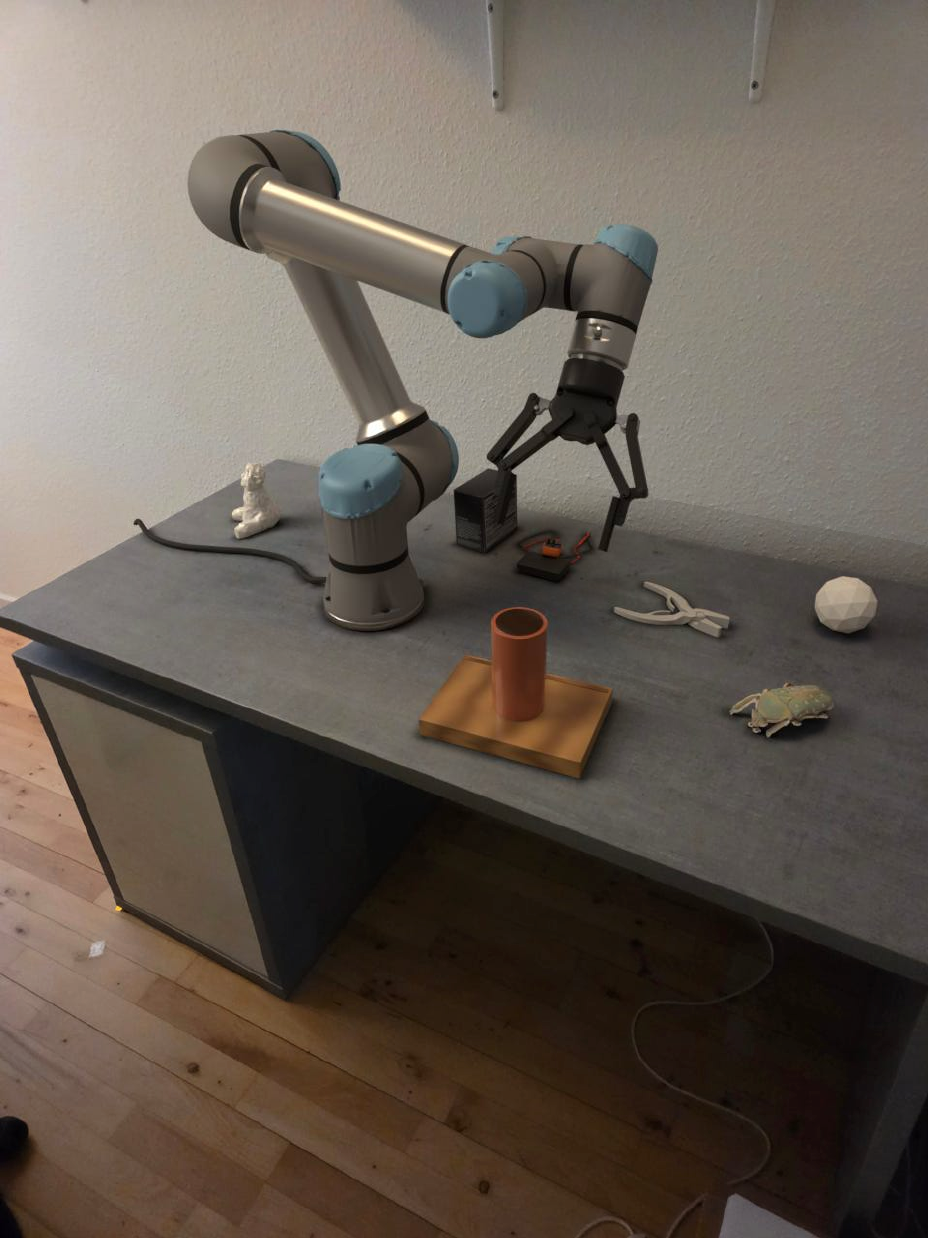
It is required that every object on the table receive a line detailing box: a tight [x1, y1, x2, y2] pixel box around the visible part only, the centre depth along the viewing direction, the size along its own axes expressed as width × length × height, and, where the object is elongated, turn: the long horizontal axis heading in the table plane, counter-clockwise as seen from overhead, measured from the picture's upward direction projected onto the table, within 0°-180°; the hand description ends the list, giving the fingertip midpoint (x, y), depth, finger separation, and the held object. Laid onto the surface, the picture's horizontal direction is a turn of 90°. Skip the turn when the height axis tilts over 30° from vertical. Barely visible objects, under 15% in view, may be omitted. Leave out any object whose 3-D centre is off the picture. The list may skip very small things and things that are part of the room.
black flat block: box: [516, 530, 594, 582], centre depth 131 cm, size 18×12×3 cm, turn 145°
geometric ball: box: [814, 575, 878, 634], centre depth 109 cm, size 8×8×8 cm
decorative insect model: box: [728, 682, 835, 738], centre depth 95 cm, size 9×11×5 cm
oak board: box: [418, 654, 614, 779], centre depth 97 cm, size 20×14×3 cm
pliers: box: [613, 581, 731, 638], centre depth 115 cm, size 10×2×15 cm
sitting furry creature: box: [231, 461, 281, 540], centre depth 141 cm, size 10×9×12 cm
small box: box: [453, 467, 519, 554], centre depth 134 cm, size 11×6×10 cm, turn 144°
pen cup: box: [490, 606, 548, 721], centre depth 93 cm, size 6×6×12 cm
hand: (549, 537), depth 97 cm, fingers open, 13 cm apart
